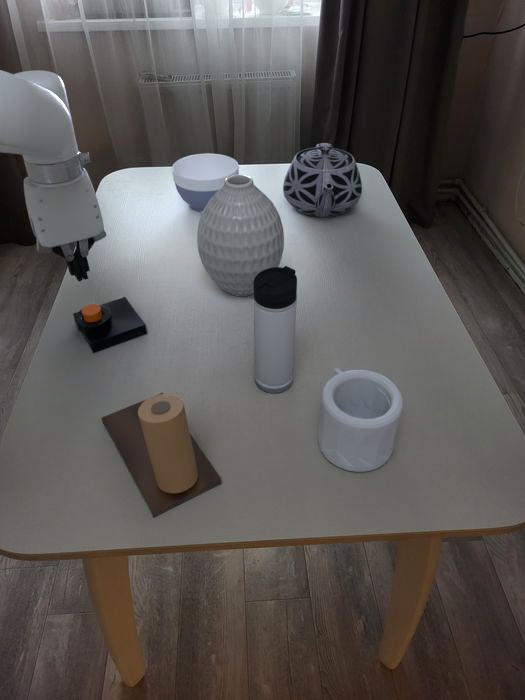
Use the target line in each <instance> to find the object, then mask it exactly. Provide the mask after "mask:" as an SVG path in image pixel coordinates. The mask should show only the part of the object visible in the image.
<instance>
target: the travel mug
mask: <svg viewBox="0 0 525 700" xmlns="http://www.w3.org/2000/svg"><path fill="white" fill-rule="evenodd" d="M253 287H254V294H252V296H253V297H252V300H253V303H252V305H253V306H252V308H253V311H252V312H253V352H254V353H253V360H254V361H253V363H254V364H253V367H254V383H255V385H256V386H257V388H258V389H260V391H263V392H265V393H268V394H269V393H270V394H280V393H283V392H285V391H287V390H288V389H290V388H291V387H292V385H293V382H294V370H295V369H294V367H295V364H294V363H295V349H296V348H295V345H296V326H297V325H296V324H297V323H296V322H297V301H298V297H297V296H298V295H297V294H298V293H297V292H298V277H297V275H296V269H294V268H292V267H290V266H288V265H284V266H283V267H280V266H278V267H273V268H268V269H265V270H263V271H261V272H260V273H259V274H257V275H256V277H255V278H254V282H253Z"/></svg>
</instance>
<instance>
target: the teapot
mask: <svg viewBox="0 0 525 700" xmlns="http://www.w3.org/2000/svg"><path fill="white" fill-rule="evenodd" d="M362 183H363V182H362V178H361V174H360V170H359V168H358V165H357V161H356V159H355V157H354V156H353V154H351V153H350V152H348V151H346V150H343V149H340V148H336V147H334V146H333V145H332V144H331V143H327V142H321V143H317V144H316V145H315V147H309V148H305V149H303V150H300V151H299V152H297V153H296V154H295V155H294V157H293V159H292V161H291V162H290V165H289V167H288V168H287V171H286V174H285V176H284V180H283V185H282V192H283V196H284V198H285V200H286V201H287V202H288V203H289V205H291V206H292V207H293V208H294V209H295V210H296V211H297V212H299V213H301V214H303V215H307V216H311V217H318V218H329V217H335V216H339V215H343V214H344V213H346V212H347V211H348V210H350V209H351V208H353V207H354V206H355V205H356V204H357V203H358V202H359V201H360V199H361V196H362V194H363V184H362Z"/></svg>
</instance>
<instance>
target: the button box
mask: <svg viewBox="0 0 525 700" xmlns="http://www.w3.org/2000/svg"><path fill="white" fill-rule="evenodd" d="M98 305H99V306H100V308H101V312H102V318H101V319H100V320H99V321H96V322H85V321H84V318H83V315H82V309H83V308H81V309H80V310H78V311H77V312H73V313H72V316H73V319H74V324H75V327H76V329H77V331H78V332H79V333H81V335H82V336H83V338H84V340H85V342H86V343H87V345H88V347H89V349H90V350H91V352H92V354H95V353H99V352H101V351H104V350H107V349H110V348H112V347H115V346H118V345H121V344H124V343H127V342H129V341H132V340H134V339H137V338H141V337H143V336H145V335H148V330H147V324H146V323H145V322H144V320H143V319H142V318H141V316H140V315H139V314H138V312H137V310H136V309H135V308H134V307H133V305H132V304H131V302H130V301H129V299H128V298H127V297H126V296H123V297H119V298H116V299H114V300H110V301H107V302H104V303H101V304H98Z"/></svg>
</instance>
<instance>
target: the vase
mask: <svg viewBox="0 0 525 700" xmlns="http://www.w3.org/2000/svg"><path fill="white" fill-rule="evenodd" d="M284 233H285V232H284V227H283V223H282V218H281V215H280V214H279V212H278V209H277V207H276V206H275V204H274V203H273V201H272V200H271V199H270V198H269V197H268V196H267V195H266V194H265V193H264V192H263V191H262V190H261V189H260V188H258V187H257V186H256V185H255V183H254V179H253V178H252V177H250V176H249V175H246V174H239V175H233V176H229V177H228V178H226V179H225V181H224V186H223V187H222V188H221V189H220V190H219V191H218V192H217V193H216V194H215V195H214V196H213V197H212V198H211V199H210V200H209V202H208V203H207V204H206V206H205V208H204V210H203V212H201V215H200V218H199V221H198V225H197V233H196V234H197V235H196V243H197V251H198V254H199V259H200V262H201V264H202V266H203V268H204V270H205V272H206V273H207V275H208V276H209V277H210V278H211V280H212V281H213V282H214V283H215V284H216V285H217V286H218V287H219V288H221V289H222V290H223V291H225V292H226V293H228V294H230V295H233V296H235V297H247V296H253V295H254V287H253V282H254V278H255V277H256V275H257V274H259V273H260V272H261V271H263V270H265V269H268V268H273V267H280V264H281V262H282V259H283V254H284V249H285V248H284V247H285V234H284Z"/></svg>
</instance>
